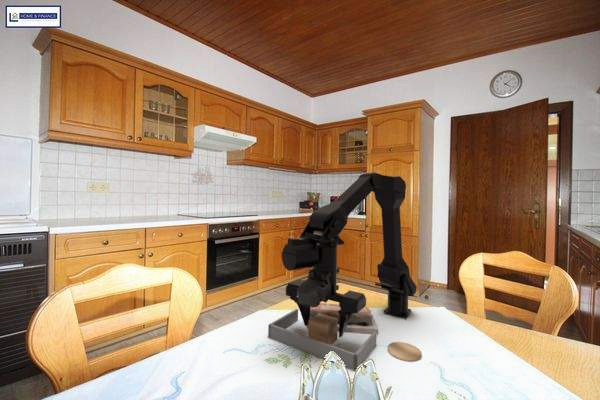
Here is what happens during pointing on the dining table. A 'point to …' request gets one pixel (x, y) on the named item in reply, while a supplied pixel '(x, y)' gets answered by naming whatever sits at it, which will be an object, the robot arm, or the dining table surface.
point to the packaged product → (357, 322)
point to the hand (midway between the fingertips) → (323, 330)
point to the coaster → (404, 351)
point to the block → (323, 328)
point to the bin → (317, 342)
